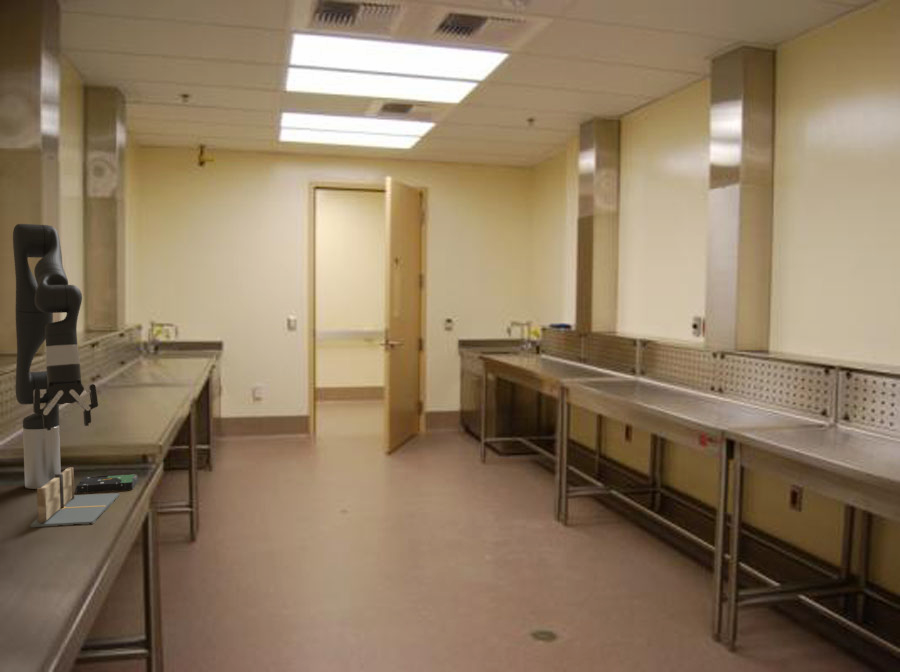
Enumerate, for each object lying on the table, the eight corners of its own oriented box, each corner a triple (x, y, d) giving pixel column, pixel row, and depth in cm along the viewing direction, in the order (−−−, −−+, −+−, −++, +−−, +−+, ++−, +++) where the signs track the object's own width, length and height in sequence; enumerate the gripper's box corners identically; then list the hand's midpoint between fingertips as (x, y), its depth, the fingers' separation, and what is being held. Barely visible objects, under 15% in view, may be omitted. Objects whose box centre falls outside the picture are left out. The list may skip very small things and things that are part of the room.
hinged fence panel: (54, 508, 186) (53, 477, 186) (61, 508, 187) (60, 476, 186) (36, 523, 175) (35, 489, 174) (44, 522, 175) (43, 489, 175)
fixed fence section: (68, 500, 197) (67, 465, 197) (75, 499, 198) (74, 465, 197) (55, 511, 187) (53, 475, 187) (62, 511, 187) (61, 474, 187)
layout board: (65, 497, 199) (64, 495, 199) (119, 495, 202) (119, 493, 202) (30, 527, 175) (30, 524, 175) (93, 523, 178) (92, 521, 178)
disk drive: (76, 495, 204) (133, 491, 208) (75, 486, 204) (133, 481, 208) (83, 486, 214) (138, 481, 218) (83, 476, 214) (137, 472, 218)
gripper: (91, 362, 191) (95, 424, 190) (29, 366, 182) (33, 431, 182) (96, 361, 184) (101, 424, 184) (32, 365, 176) (37, 432, 176)
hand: (67, 427), depth 183 cm, fingers open, 8 cm apart
